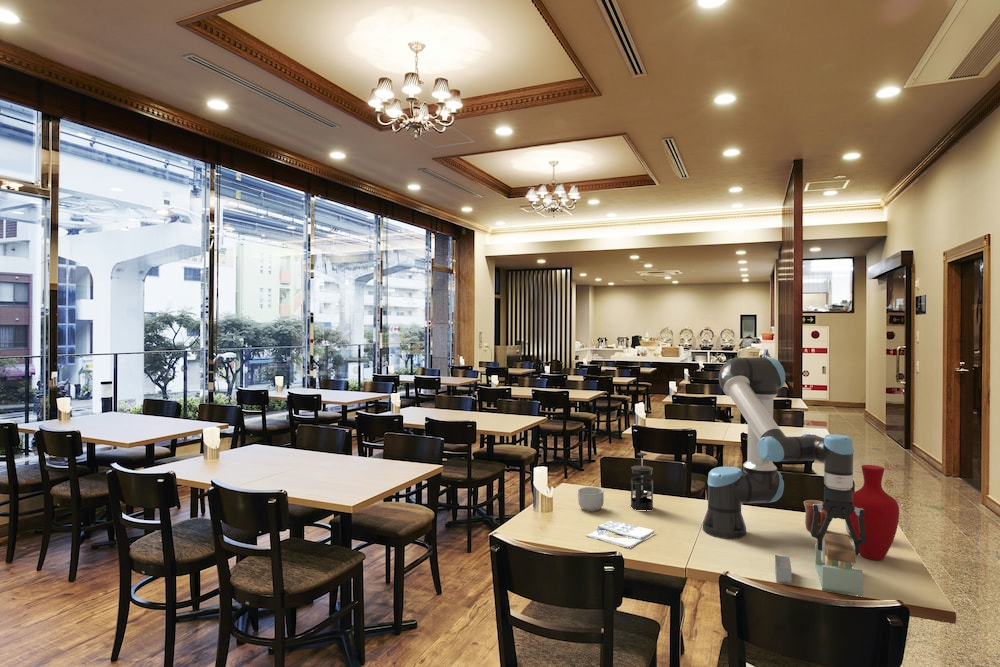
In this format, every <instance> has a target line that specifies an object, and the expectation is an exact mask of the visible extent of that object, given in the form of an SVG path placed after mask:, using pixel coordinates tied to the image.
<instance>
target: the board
mask: <svg viewBox="0 0 1000 667" xmlns="http://www.w3.org/2000/svg"><path fill="white" fill-rule="evenodd" d="M823 538H824V539H825V553H826V556H827V559H828V560H835V561H842V562H849V563H855V564H857V563H856V556H857V555H856V553H855V550H854V548H853V546H852V544H851V542H852V541H850V538H849V536H848V535H841V534H833V533H827V532H826V533H825V535H824V537H823Z"/></svg>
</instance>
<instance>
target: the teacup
mask: <svg viewBox="0 0 1000 667" xmlns="http://www.w3.org/2000/svg"><path fill="white" fill-rule="evenodd" d="M604 492H605V491H604V489H602V488H600V487H597V486H596V487H595V486H586V485H585V486H583V487H581V488H579V489H577V501H578V505H579V507H580V508H581V509H582V510H584V511H586V510H588V511H587V512H596V510H597V511H599V510H600V509H601V508H602V507H603V506H604V502H605V501H604V500H605V499H604V497H605V494H604Z"/></svg>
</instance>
